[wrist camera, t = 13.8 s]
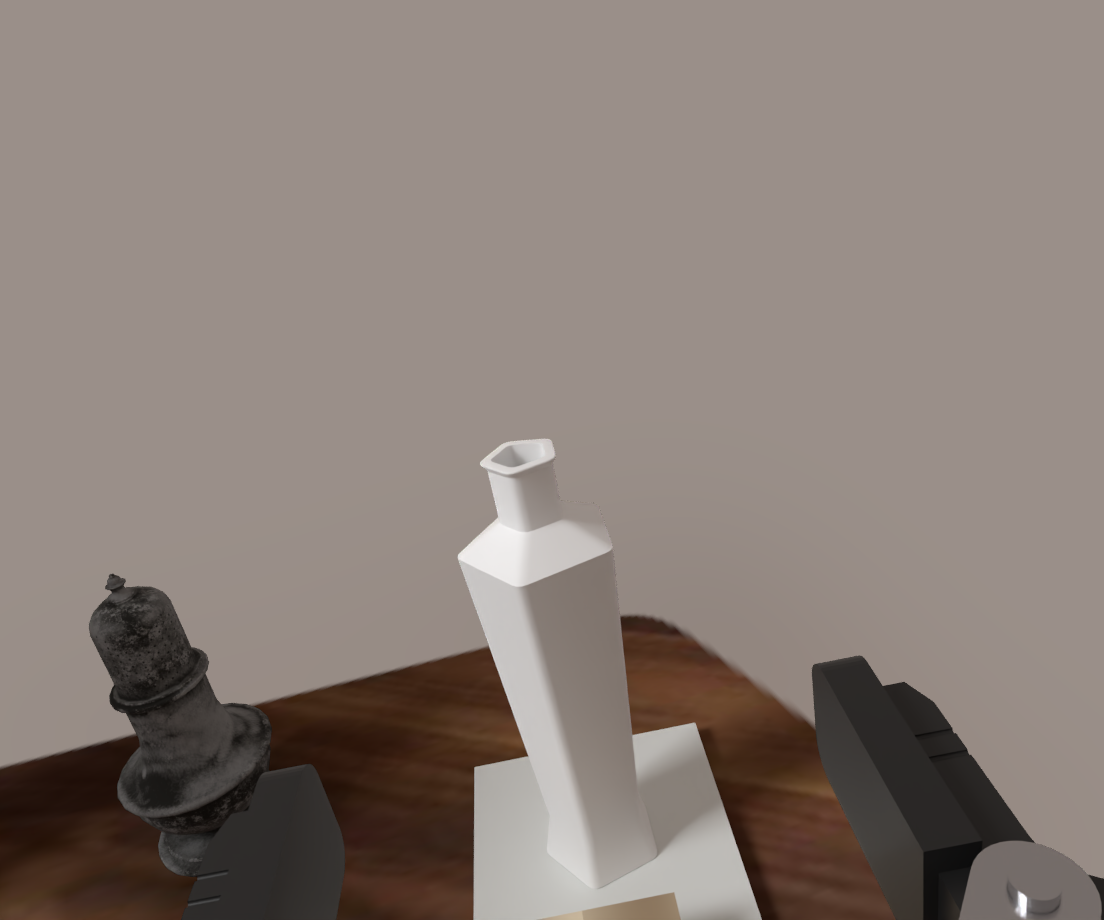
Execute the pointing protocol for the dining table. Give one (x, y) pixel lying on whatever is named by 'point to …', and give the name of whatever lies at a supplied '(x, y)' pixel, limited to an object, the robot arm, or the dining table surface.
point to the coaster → (680, 866)
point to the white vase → (561, 660)
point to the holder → (630, 910)
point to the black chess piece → (176, 726)
